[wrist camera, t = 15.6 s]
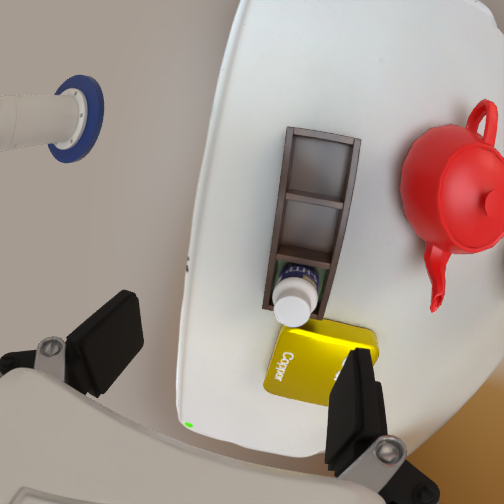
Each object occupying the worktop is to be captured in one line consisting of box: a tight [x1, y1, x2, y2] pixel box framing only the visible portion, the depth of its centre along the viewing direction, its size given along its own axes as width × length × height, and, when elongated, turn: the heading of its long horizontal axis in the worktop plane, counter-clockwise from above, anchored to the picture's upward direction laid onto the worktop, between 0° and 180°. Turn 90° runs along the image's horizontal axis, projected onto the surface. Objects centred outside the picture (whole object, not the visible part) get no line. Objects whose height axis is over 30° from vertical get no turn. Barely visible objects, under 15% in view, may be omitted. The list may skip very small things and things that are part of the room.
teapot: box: [400, 99, 504, 313], centre depth 23 cm, size 25×16×12 cm, turn 167°
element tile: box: [264, 318, 379, 406], centre depth 39 cm, size 15×15×5 cm
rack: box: [262, 127, 361, 321], centre depth 32 cm, size 8×23×4 cm, turn 174°
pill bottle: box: [272, 262, 319, 327], centre depth 32 cm, size 5×5×9 cm
